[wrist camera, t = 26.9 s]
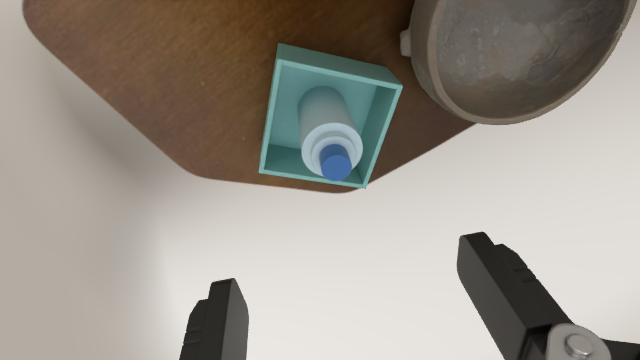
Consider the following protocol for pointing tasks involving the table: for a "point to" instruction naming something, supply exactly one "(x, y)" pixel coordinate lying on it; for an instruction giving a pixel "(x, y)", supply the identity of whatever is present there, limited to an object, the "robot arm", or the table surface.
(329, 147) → the bottle
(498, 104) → the bowl
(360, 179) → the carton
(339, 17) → the table surface
